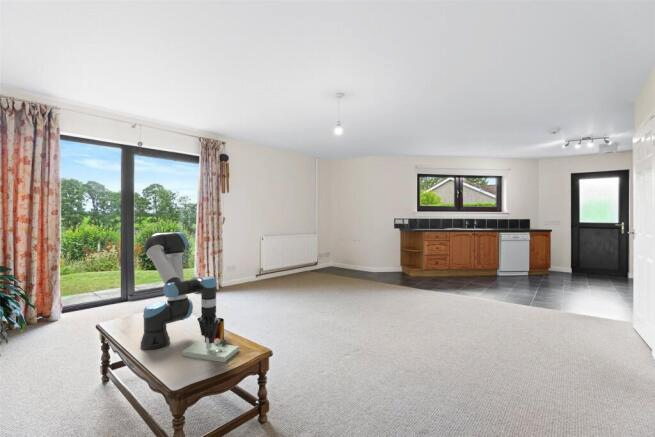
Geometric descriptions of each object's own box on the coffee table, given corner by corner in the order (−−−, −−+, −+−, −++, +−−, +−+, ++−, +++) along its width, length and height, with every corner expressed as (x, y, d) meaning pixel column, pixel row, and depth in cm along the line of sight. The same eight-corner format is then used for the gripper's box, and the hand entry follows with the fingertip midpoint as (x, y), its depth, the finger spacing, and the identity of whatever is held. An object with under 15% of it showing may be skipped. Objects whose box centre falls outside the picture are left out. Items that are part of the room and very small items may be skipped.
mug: (214, 347, 186) (213, 326, 186) (204, 340, 196) (204, 320, 196) (229, 342, 193) (229, 322, 192) (219, 335, 203) (219, 316, 202)
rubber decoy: (218, 344, 182) (221, 338, 182) (221, 343, 185) (224, 337, 185) (223, 347, 181) (225, 341, 181) (226, 346, 184) (228, 340, 184)
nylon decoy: (214, 337, 184) (218, 339, 183) (217, 337, 187) (221, 339, 186) (212, 343, 183) (217, 345, 182) (215, 343, 186) (220, 344, 185)
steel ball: (214, 350, 174) (219, 353, 173) (218, 348, 177) (222, 351, 176) (212, 355, 174) (216, 358, 173) (216, 352, 177) (220, 356, 176)
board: (182, 355, 175) (181, 351, 175) (198, 345, 189) (198, 340, 189) (224, 362, 168) (224, 357, 168) (238, 350, 182) (238, 346, 182)
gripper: (193, 306, 174) (193, 350, 175) (215, 309, 170) (215, 353, 172) (202, 302, 181) (202, 344, 182) (223, 304, 178) (223, 347, 179)
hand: (208, 348), depth 177 cm, fingers closed
